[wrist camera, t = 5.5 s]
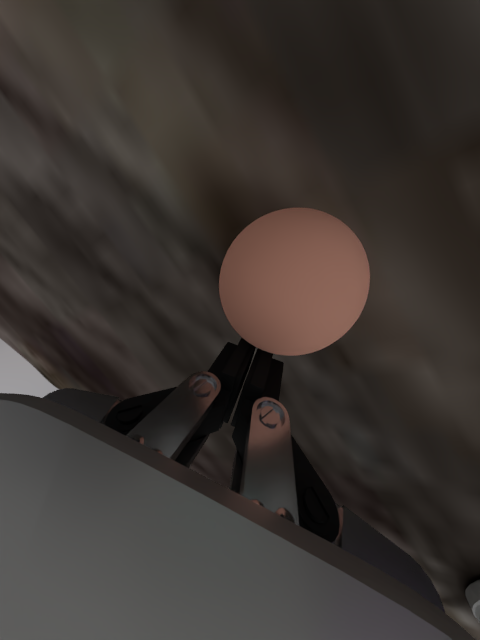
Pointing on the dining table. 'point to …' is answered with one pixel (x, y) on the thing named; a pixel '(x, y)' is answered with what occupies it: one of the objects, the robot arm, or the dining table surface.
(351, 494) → the dining table surface
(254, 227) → the ball
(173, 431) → the robot arm
